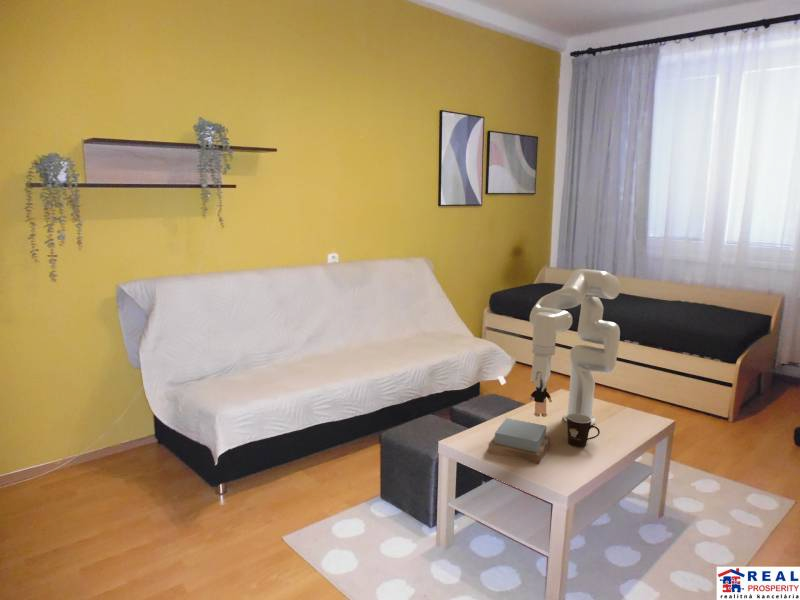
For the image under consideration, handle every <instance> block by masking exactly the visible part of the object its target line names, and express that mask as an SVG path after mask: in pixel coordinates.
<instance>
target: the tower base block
mask: <svg viewBox="0 0 800 600" xmlns="http://www.w3.org/2000/svg"><path fill="white" fill-rule="evenodd" d="M494 442H495V435H494V436H493V438H491V440H490V442H489V443H488V447H487V449H488V451H487V453H488V452H489V453H488V454H492V453H493V454H492V455H497V456H501V455H502V457H505V456H506V457H507V458H511V459H514V458H515V460H518V459H519V461H523V460H524V461H523V462H527V461H528V462H527V463H532V464H535V465H537V464H538V465H540V464H541V461H542V460H541V459H543V457H544V456H545V454H546V452H547V451H548V448H549V446H550V444H551V435H550V434H546V436H545V438H544V440H543V442H542V444H541V446H540V448H539V449H538V451H537V452H532V451H527V450H523V449H518V448H514V447H509V446H505V445H500V444H496V443H494Z"/></svg>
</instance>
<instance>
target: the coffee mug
mask: <svg viewBox="0 0 800 600" xmlns="http://www.w3.org/2000/svg"><path fill="white" fill-rule="evenodd" d="M591 421H592V420H591V418H590V417H588V416H586V415H582V414H569V415H568V416H567V422H566V423H567V443H568V445H570V446H572V447H574V448H585V447H586V446H587V444H588V443H587V442H588V441H590V440H592V439H595V438H597V437H599V435H600V434H601V431H600V429H599V427H597V426H596V425H591ZM590 425H591V426H590ZM593 428H594V429H595V430H597V434H596V435H595V436H594V435H593V436H592V437H591V436H590V437H589V433H590V430H591V429H593Z"/></svg>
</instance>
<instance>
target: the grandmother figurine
mask: <svg viewBox="0 0 800 600" xmlns="http://www.w3.org/2000/svg"><path fill="white" fill-rule="evenodd" d="M541 382H543V381H541ZM541 386H542V385H541ZM545 387H546V388H547V386H546V383H545V384H544V389H545ZM534 396H535V390H534V391H533V392H532V393H530V396H529V397H528V400H529V401H532V400H533V399H534ZM545 396H546V398H545ZM547 399H548V402H549V403H552V402H553V400H552V397H551V395H550V393H549V392H548V391H545V393H544V402H543V403H541V402H535V401H534V403H535V404H534V413H533V415H534V416H535V417H537V418H540V417H542V418H546V417H548V413H547Z"/></svg>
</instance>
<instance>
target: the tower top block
mask: <svg viewBox="0 0 800 600" xmlns="http://www.w3.org/2000/svg"><path fill="white" fill-rule="evenodd" d="M546 435H547V425H544V424H539V423H535V422H534V423H533V422H530V421H524V420H518V419H515V418H509V417H505V419H504V420H503V422H502V423H501V424H500V426H499V427H498V428H497V429H496V430H495V432H494V436H495V442H494V443H496V444H500V445H505V446H509V447H514V448H518V449H523V450H527V451H532V452H537V451H538V449H539V448H540V446H541V444H542V442H543V440H544V438H545V436H546Z"/></svg>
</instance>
